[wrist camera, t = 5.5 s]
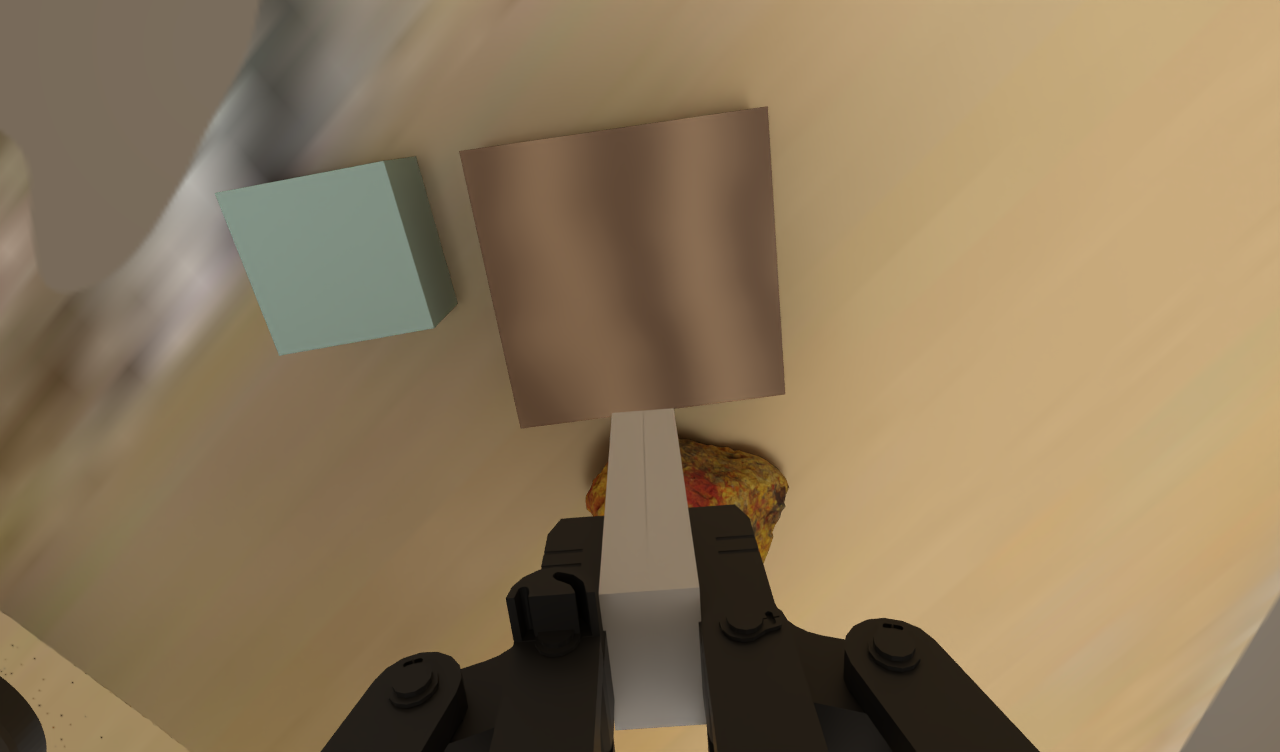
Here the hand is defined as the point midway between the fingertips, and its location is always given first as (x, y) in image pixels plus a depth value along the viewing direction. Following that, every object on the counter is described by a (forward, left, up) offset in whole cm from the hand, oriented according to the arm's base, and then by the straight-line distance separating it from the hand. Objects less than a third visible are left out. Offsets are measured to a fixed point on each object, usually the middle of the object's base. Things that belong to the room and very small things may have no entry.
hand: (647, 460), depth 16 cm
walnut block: (0, +1, -22) cm, 22 cm away
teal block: (-15, +3, -22) cm, 27 cm away
